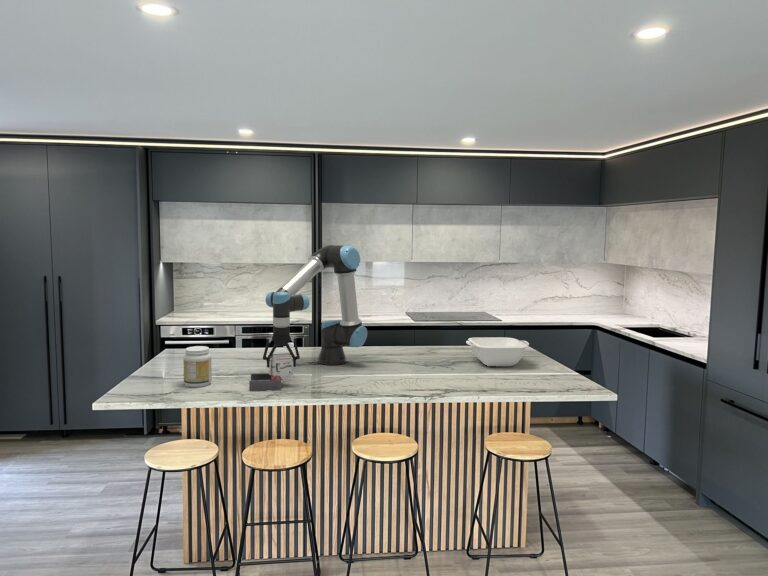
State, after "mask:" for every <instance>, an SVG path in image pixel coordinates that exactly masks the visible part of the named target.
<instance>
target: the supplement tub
mask: <svg viewBox="0 0 768 576" xmlns="http://www.w3.org/2000/svg"><path fill="white" fill-rule="evenodd" d="M184 353H185V354H184V356H183V384H184V385H185V386H186V387H188V388H202V387H207V386H209V385H211V383H212V380H213V379H212V378H213V377H212V376H213V375H212V354H211V353H210V348H209V346H204V345H203V346H202V345H195V346H188V347H186V348H185V352H184Z"/></svg>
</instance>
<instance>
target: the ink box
mask: <svg viewBox="0 0 768 576" xmlns="http://www.w3.org/2000/svg"><path fill="white" fill-rule="evenodd" d="M292 359H293V358H292V355H290V353H289V352H282V353H273V354H272V356H271V358H270V360H271V379H272V380H281V382H283V381H292V379H293V377H292Z"/></svg>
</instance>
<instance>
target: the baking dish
mask: <svg viewBox="0 0 768 576" xmlns="http://www.w3.org/2000/svg"><path fill="white" fill-rule="evenodd" d="M465 343H466V345H468V346H471V349H472V351H473V354H474V356H475V357H476V358H477V359H478V360H479V361H480V362H481V363H482V364H483V365H485V366H486V365H487V367H490V366H496V367H513V366H515V365H516V364H517V363H519V362H520V360H521V359H522V358H523V356H524V353H525V350H526V349H527V348H529V346H530V342H528V341H526V340H519V339H517V338H513V337H505V336H504V337H501V336H500V337H499V336H498V337H497V336H496V337H491V336H490V337H486V336H485V337H484V336H483V337H469V338H468V339H467V340H466V341H465Z"/></svg>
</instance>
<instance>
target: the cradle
mask: <svg viewBox="0 0 768 576" xmlns="http://www.w3.org/2000/svg"><path fill="white" fill-rule="evenodd" d="M248 382H249V383H248V384H249V387H248V389H249V390H248V391H249V392H261V391H264V392H268V391H267V390H272V391H282V381H281V380H272V379H271V375H269V372H266V373H265V372H260V373H254V372H253V373H250V380H249V381H248Z"/></svg>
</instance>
